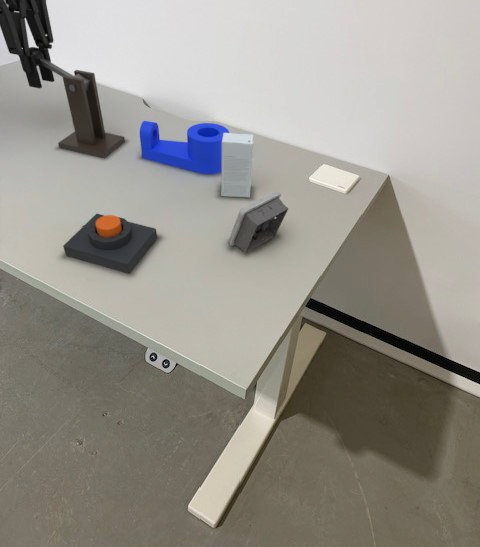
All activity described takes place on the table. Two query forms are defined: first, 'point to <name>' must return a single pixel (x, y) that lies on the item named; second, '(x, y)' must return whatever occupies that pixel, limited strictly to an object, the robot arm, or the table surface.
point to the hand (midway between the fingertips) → (42, 83)
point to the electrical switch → (258, 222)
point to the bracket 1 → (87, 119)
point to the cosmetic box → (236, 164)
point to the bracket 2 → (185, 147)
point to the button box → (111, 245)
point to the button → (108, 226)
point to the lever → (53, 66)
